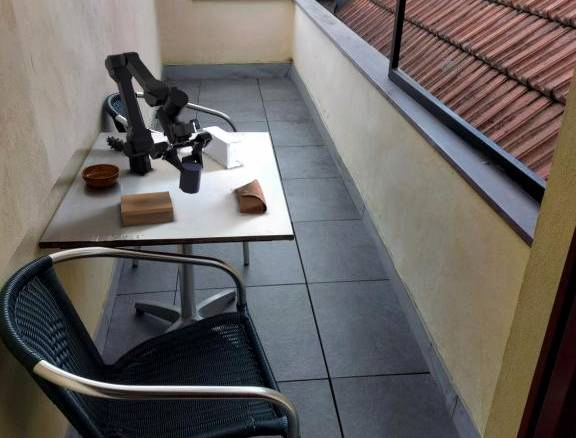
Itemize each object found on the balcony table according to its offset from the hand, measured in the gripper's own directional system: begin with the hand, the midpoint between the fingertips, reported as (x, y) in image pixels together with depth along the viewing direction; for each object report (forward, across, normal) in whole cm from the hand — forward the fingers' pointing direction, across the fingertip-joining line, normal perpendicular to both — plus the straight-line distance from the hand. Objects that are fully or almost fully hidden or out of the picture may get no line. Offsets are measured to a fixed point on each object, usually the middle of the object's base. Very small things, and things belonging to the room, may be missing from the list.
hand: (193, 171), depth 159 cm
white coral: (-24, +20, +37) cm, 49 cm away
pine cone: (-32, +4, +46) cm, 56 cm away
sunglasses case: (+13, +16, +4) cm, 21 cm away
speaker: (+4, 0, +6) cm, 7 cm away
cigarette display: (-12, +29, +29) cm, 43 cm away
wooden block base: (+4, -13, +13) cm, 18 cm away
